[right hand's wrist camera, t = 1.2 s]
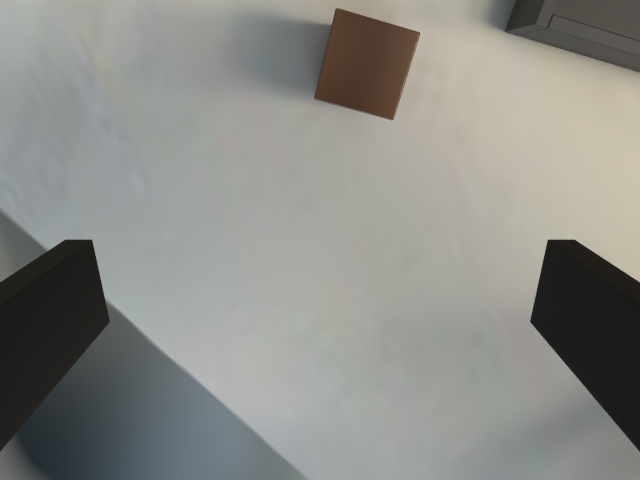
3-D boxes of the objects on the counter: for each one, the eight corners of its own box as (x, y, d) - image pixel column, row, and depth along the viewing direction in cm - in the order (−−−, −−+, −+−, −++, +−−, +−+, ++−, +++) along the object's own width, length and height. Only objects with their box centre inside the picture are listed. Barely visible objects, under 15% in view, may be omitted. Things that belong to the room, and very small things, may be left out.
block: (395, 43, 29) (421, 32, 21) (376, 109, 30) (393, 120, 23) (332, 25, 28) (335, 7, 21) (315, 93, 30) (313, 98, 23)
